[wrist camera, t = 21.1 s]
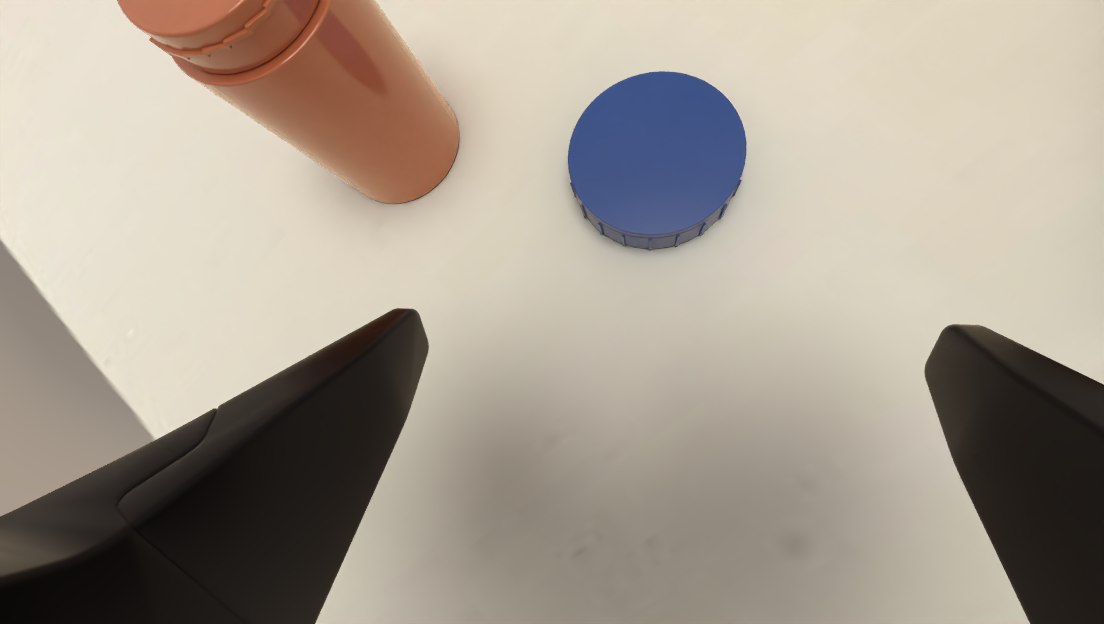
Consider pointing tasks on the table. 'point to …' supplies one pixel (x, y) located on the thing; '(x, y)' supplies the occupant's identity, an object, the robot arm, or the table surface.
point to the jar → (317, 83)
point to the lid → (656, 159)
